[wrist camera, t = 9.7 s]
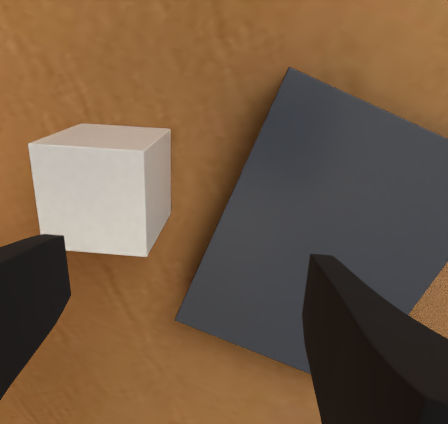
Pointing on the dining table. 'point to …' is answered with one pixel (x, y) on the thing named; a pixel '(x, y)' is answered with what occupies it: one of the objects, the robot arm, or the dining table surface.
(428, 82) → the dining table surface
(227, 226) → the dark grey rectangular slab
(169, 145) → the white box
